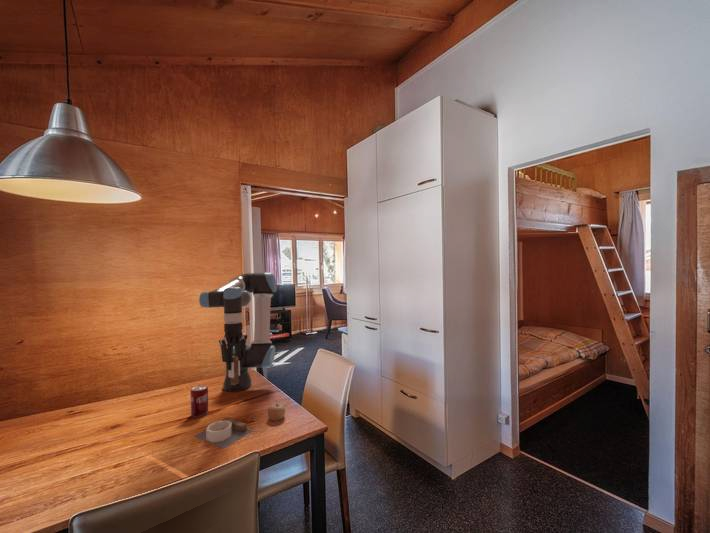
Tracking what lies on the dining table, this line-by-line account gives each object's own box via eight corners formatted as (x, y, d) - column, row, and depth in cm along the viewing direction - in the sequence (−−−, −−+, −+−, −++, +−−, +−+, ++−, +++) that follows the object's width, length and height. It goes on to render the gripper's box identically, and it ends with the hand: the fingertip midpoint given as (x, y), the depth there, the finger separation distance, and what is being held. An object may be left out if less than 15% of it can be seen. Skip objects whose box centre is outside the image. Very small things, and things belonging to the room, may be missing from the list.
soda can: (211, 410, 149) (211, 384, 149) (202, 417, 142) (202, 391, 142) (197, 410, 150) (196, 384, 150) (187, 417, 143) (186, 390, 143)
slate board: (224, 422, 137) (224, 420, 137) (253, 433, 127) (253, 430, 127) (193, 438, 125) (193, 435, 125) (223, 451, 115) (222, 448, 115)
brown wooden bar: (235, 382, 141) (234, 355, 141) (238, 383, 139) (238, 356, 140) (230, 384, 138) (229, 356, 139) (234, 385, 137) (233, 357, 137)
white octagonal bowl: (222, 427, 130) (222, 418, 130) (236, 433, 126) (236, 423, 126) (202, 438, 123) (201, 428, 123) (216, 444, 118) (216, 434, 118)
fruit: (267, 417, 140) (267, 399, 140) (284, 415, 143) (284, 397, 143) (268, 425, 133) (267, 406, 133) (286, 422, 135) (285, 404, 135)
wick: (222, 425, 132) (222, 419, 132) (227, 423, 134) (227, 417, 134) (241, 432, 126) (241, 426, 126) (246, 429, 128) (246, 423, 128)
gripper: (242, 319, 148) (243, 370, 148) (212, 324, 135) (213, 380, 134) (253, 320, 144) (254, 372, 144) (223, 325, 131) (224, 382, 130)
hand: (234, 376), depth 139 cm, fingers closed on brown wooden bar, 2 cm apart
